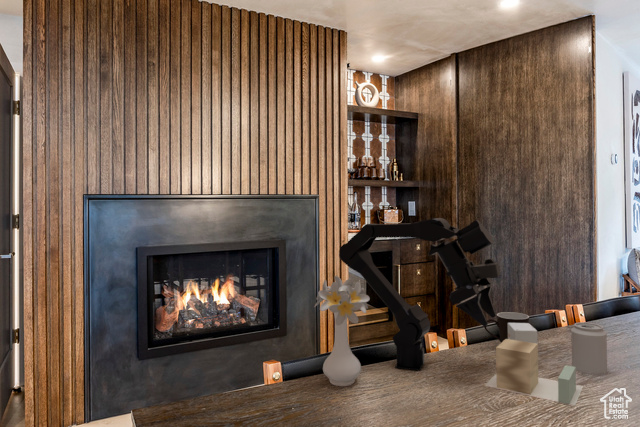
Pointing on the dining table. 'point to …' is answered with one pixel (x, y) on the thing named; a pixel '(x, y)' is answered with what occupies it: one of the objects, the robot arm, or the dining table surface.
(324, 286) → the flower vase
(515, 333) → the small box
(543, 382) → the laminate slab
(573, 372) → the board
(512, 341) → the oak block
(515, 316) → the coffee mug
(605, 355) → the can
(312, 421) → the dining table surface
